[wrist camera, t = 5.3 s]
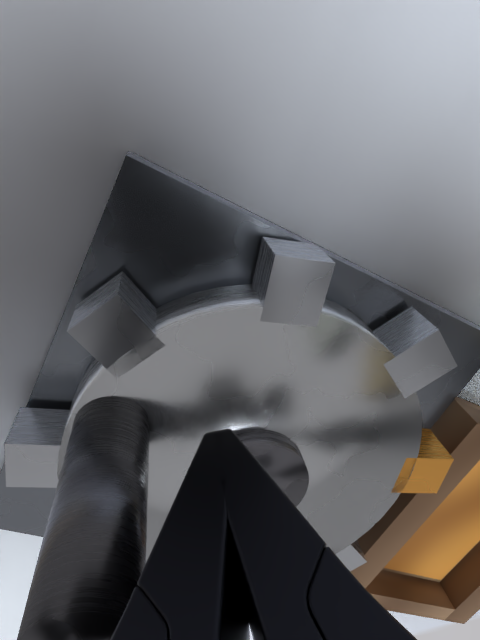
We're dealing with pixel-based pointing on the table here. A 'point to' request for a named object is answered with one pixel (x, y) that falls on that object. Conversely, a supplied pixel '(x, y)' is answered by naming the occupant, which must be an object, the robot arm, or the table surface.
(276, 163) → the table surface
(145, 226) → the sprocket base
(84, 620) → the sprocket
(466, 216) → the table surface
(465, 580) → the brown open tray
